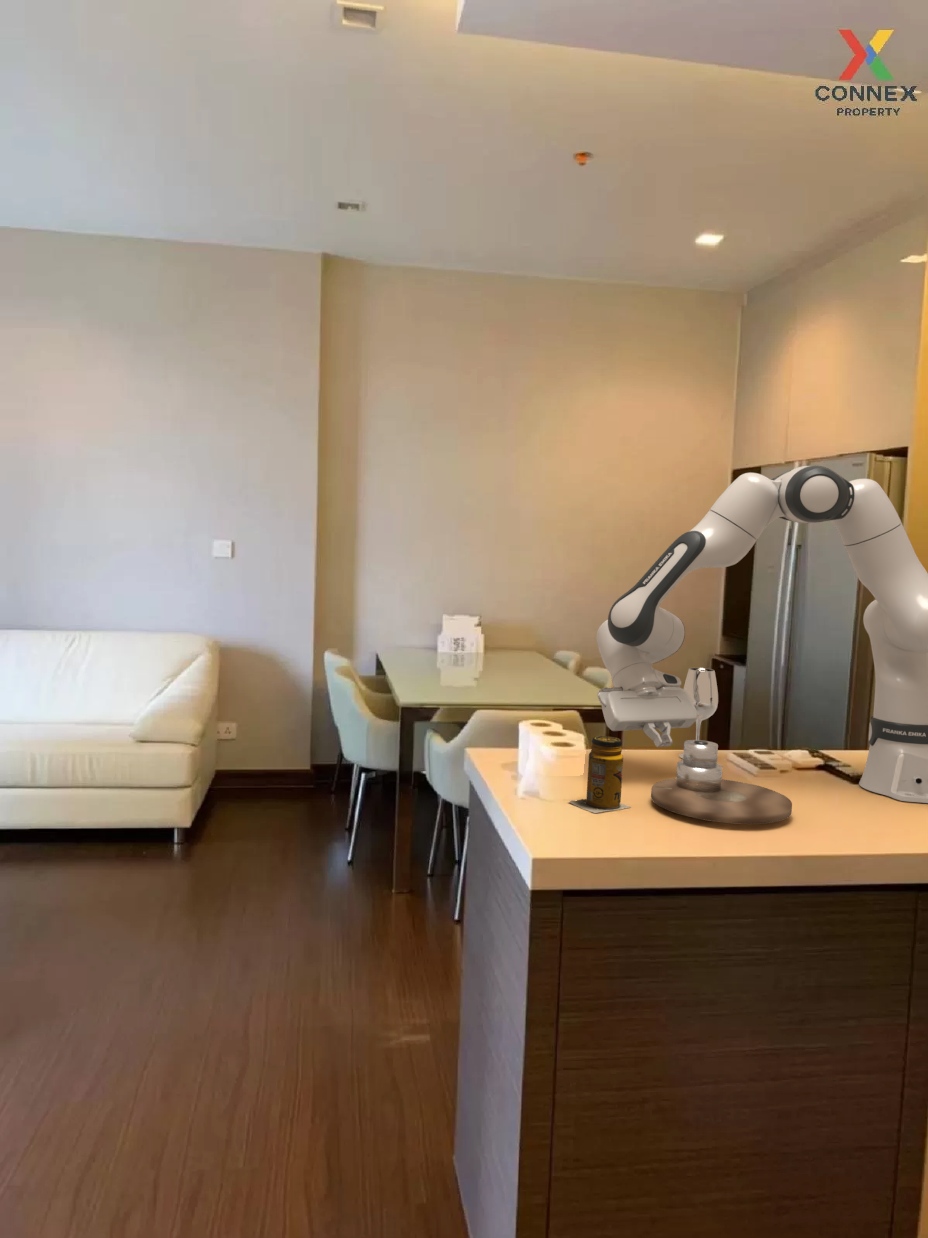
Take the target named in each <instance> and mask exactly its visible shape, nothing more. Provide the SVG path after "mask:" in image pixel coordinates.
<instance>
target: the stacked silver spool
mask: <svg viewBox="0 0 928 1238" xmlns="http://www.w3.org/2000/svg"><path fill="white" fill-rule="evenodd" d="M718 748H719V745H718V743H716V742H713V741H709V740H701V739H699V740H696V739H688V740H687V739H686V740H685V741H683V753H684V754H683V759H681V760H679V761H677V764H676V785H677V786H678V787H680V788H682V789H686V790H690V791H696V792H717V791H720V790H721V780H722V779H723V776H722V775H723V766H722V765H721V764H718V750H719V749H718Z"/></svg>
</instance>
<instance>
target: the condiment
mask: <svg viewBox="0 0 928 1238" xmlns="http://www.w3.org/2000/svg"><path fill="white" fill-rule="evenodd" d="M622 746H623V741H622V740H621V739H620V738H618V737H614V736H606V735H600V736H594V737H592V740H591V746H590V747H591V748H590V749H591V750H590V752H589V754H588V762H587V763H588V765H587V767H588V768H587V781H586V783H587V784H586V798H585V799H583V798H581V799H576V800H577V801H575V800H569V801H570V802H569V803H570V804H572V805H574V806H576V807H578V808H581V809H582V810H584V811H585V810H586V811H588V812H591V813H594V814H597V813H604V812H610V811H618V810H624V809H629V808H631V806H629V805H626V804H624V803H621V800H622V783H623V781H622V780H623V766H624V756H623V754H622V752H623V750H622Z"/></svg>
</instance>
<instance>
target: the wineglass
mask: <svg viewBox="0 0 928 1238" xmlns="http://www.w3.org/2000/svg"><path fill="white" fill-rule="evenodd" d="M684 682H685V683H684V685H683V689H684V690H685V691H686V692H687V694H688V695H689V697H690V699H691V700H692V702H693V704H694V706H695V708H696V710H697V713H698V717H697V720H696V721H695V725H696V726H695V729H696V730H695V740H700V733H701V732H700V731H701V725H702V724H701V723H702V721H705V720H707V719H709V718H710V717H711V716H713V715H714V714H715V712H716V711H717V709H718V704H719V692H718V690H719V689H718V685H717V684H718V683H717V677H716V672H715V670H714V669H712V668H704V667H690V668H688V671H687V674H686V678H685V681H684ZM683 754H684V752H683V753H679V755H678V757H679V758H681V760H683Z"/></svg>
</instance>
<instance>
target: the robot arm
mask: <svg viewBox="0 0 928 1238" xmlns="http://www.w3.org/2000/svg"><path fill="white" fill-rule="evenodd" d="M776 519H782V520H785V521H789V522H794V523H797V524H811V523H823V522H830V523H831V524H832V525H833V526H834V528H835V529H836V530H837V532H838V535H839V537H840V539H841V542H842V545H843V547H844V549H845V551H846V553H847V555H848V558H849V560H850V562H851V565H852V568H853V570H854V572H855V574H856V577H857V578H858V580H859V581H860V583H861V584H862V586H864V587H865V588H866V589H867V590H868V591H869V592H870V593H871V595H872V596H873V597H874V600H873V601H871V602H870V603H869V604H868V605H867V607H866V608H865V610H864V613H863V618H862V619H863V626H864V629H865V632H866V633H867V634H868V637H869V640H870V645H871V653H872V659H873V665H874V673H875V674H874V675H875V676H874V677H875V679H874V680H875V684H874V699H873V700H874V703H873V714H872V716H871V717H870V720H869V721H870V722H869V725H868V743H869V748H868V754H867V756H866V761H865V762H866V763H865V767H864V769H863V773H862V775H861V778H860V780H859V782H858V785H859V786H860V787H861V788H863V789H865V790H867V791H870V792H873V793H876V794H880V795H884V796H887V797H889V798H892V799H894V800H897V801H902V802H909V803H922V804H928V571H927V570H926V569H925V567H924V566H923V564H922V562H921V561H920V559H919V557H918V556H917V554H916V552H915V550H914V547H913V545H912V542H911V540H910V539H909V536H908V534H907V531H906V530H905V527H904V525H903V523H902V520H901V518H900V516H899V513H898V512H897V510H896V508H895V506H894V505H893V503H892V501H891V499H890V498H889V496H888V495H887V493H886V492H885V491H884V489H883V488H882V487H881V485H880V484H879V483H878V482H877V481H876V480H874V479H871V478H857V479H853V480H849V481H848V480H847V479H845V478H844V477H843V476H842V475H840V474H839V473H837V472H835V471H834V470H833V469H831V468H828V467H826V466H821V465H803V466H798V467H795V468H793V469H790V470H787V471H785V472H783V473H781V474H780V475H778V476H775V477H773V478H771V479H770V478H768V477H767V476H765V475H764V474H761V473H757V472H745V473H742V474H741V475H739V476H738V477H737V478H736V479H734V480H733V482H732V483H730V485H729V486H728V487H727V488H726V489H725V490H724V491H723V492H722V493H721V494H720V495H719V497H718V498H717V499H716V500H715V502H714V503H713V504H712V506H711V507H710V508H709V510H708V512H707V513H706V514H705V515H704V517H703V518H701V520H700V521H699V522H698V523H697V524H696V525H695V526H693V528H692V529H690V530H688V531H687V532H684V533H683V534H681V535H680V536H679V537H677V538H676V539H675V540H674V541H673V542H672V543H671V544H670V545H669V546H668V548H666V549H665V550H664V552H663V553H662V554H661V555H660V556H659V557H658V558H657V560H655V562H654V563H653V564H652V565H651V566H650V568H649V569H648V570H647V571H646V572H645V573H644V574H643V576H642V577H640V579H639V580H638V582H636V583H635V585H633V586H632V587H631V588H630V589H629V590H628V591H626V592H625V593H624V594H622V595H621V596H620V597H618V598H617V600H615V601H614V602H613V604H612V606H611V607H610V609H609V613H608V616H607V619H606V620H604V621H603V622H602V624H600V625H599V627H598V629H597V632H596V645H597V648H598V653H599V655H600V657H601V659H602V662H603V664H604V668H605V669H606V670H607V671H608V673H610V676H611V678H610V679H611V683H612V685H613V687H602V688H601V689H600V690H599V691H598V692H597V699H598V701H599V704H600V705H601V710H602V714H603V717H604V718H603V719H604V720H605V724H606V727H607V728H609V730H611V731H612V732H619V731H639V730H640V731H641V730H643V732H644V734H645V735H646V736H647V737H648V738H649V739H650V740H652V741H653V743H654V745H655V747H656V748H661V747H670V746H671V745H672V744H673V739H672V737H671V729H680V728H681V729H683V728H685V729H686V728H690V727H692V725H693V724H694V723H696V720H697V717H698V713H697V710H696V708H695V706H694V704H693V702H692V700H691V699H690V697H689V695H688V694H687V692H686V691H685V690H684V688H682V687H681V685H682V683H683V682H682V680H681V678H680V677H678V676H676V675H674V674H669V673H666V672H663V671H660V670H658V669H655V668H654V667H653V665H654V664H657V663H660V662H662V661H664V660H666V659H667V658H669V657H671V656H673V655H674V654H676V653H677V652H678V651H679V650H680V649H681V647H682V645H684V644H683V643H684V641H685V637H686V629H685V628H686V627H685V624H684V622H683V621H682V619H680V617H678V616H677V615H675V614H673V613H672V612H671V611H668V609H665V608H662V607H661V606H660V605H661V604H662V602H664V600H665V599H666V598H667V597H668V596H669V595H670V593H671V592H672V591H673V590H674V588H676V586H677V585H678V584H679V583H680V582H681V581H682V580H683V579H684V577H686V576H687V575H688V574H689V573H691V572H693V571H695V570H698V569H703V568H717V569H718V568H720V569H721V568H727V567H731V566H734V565H737V563H739V562H740V561H741V560H742V559H743V558H744V557H746V555H747V554H748V553H749V551H751V549H752V548H753V546H754V545H755V543H756V542H757V540H758V539H759V538H760V536H762V533H763V532H764V530H765V529H766V528H767V527H768V526H769V525H770V523H772V522H773V521H775V520H776ZM657 730H658V731H659V732H658V731H657ZM660 733H662V734H660Z"/></svg>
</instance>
